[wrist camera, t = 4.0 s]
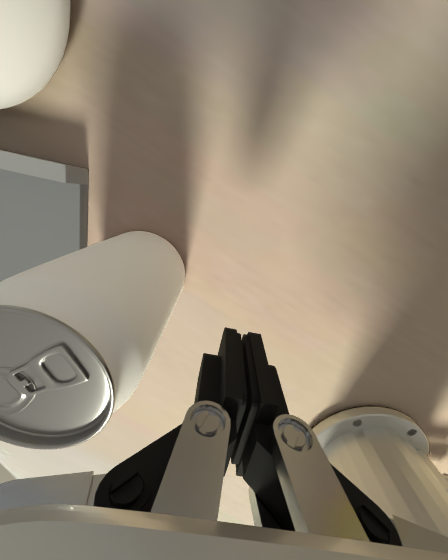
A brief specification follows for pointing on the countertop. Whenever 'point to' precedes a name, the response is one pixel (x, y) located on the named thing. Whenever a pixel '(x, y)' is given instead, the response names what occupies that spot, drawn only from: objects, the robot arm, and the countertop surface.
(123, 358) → the can
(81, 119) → the countertop surface
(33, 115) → the countertop surface
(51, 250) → the tray
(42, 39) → the flower in vase
